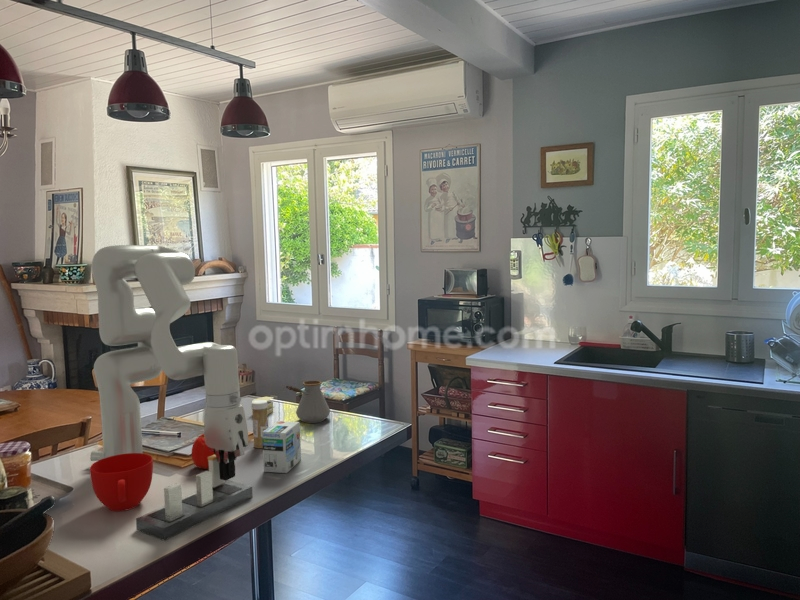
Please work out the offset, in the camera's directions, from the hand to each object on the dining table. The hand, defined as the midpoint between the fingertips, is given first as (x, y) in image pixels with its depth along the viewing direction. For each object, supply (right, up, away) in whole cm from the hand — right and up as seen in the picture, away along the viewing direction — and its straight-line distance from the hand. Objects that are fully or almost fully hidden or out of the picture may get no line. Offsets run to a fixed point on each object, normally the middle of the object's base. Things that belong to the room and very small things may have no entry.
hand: (227, 477), depth 137 cm
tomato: (-11, -4, +22) cm, 25 cm away
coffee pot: (+8, 0, +60) cm, 60 cm away
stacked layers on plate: (-9, 0, +73) cm, 74 cm away
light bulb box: (+8, -4, +22) cm, 24 cm away
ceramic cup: (-22, -6, -3) cm, 23 cm away
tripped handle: (-3, -2, +2) cm, 4 cm away
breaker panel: (-5, -6, -6) cm, 10 cm away
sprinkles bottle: (-1, -2, +38) cm, 38 cm away
